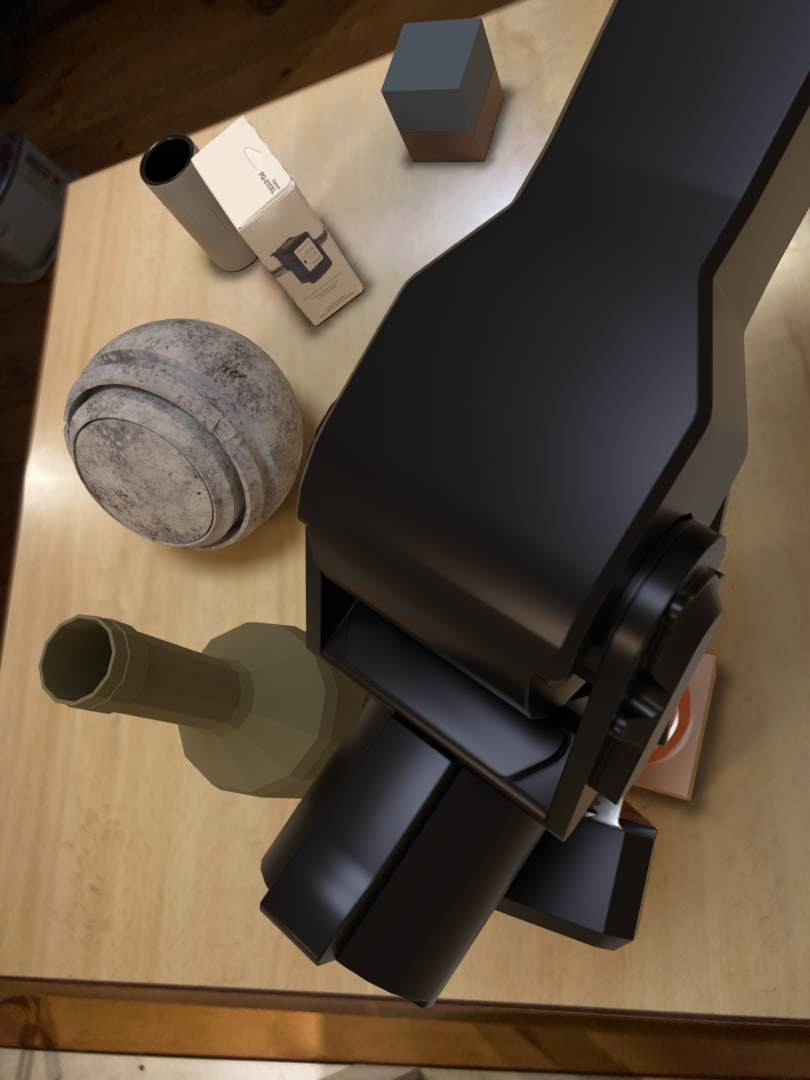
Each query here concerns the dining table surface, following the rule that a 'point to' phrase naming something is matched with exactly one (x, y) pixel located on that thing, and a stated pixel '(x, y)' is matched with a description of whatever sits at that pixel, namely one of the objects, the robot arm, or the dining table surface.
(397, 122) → the top block
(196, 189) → the planter
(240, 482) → the decorative orb
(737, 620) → the dining table surface
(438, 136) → the base block
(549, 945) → the dining table surface
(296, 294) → the ink box
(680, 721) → the cone
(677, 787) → the stand
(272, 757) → the bottle
